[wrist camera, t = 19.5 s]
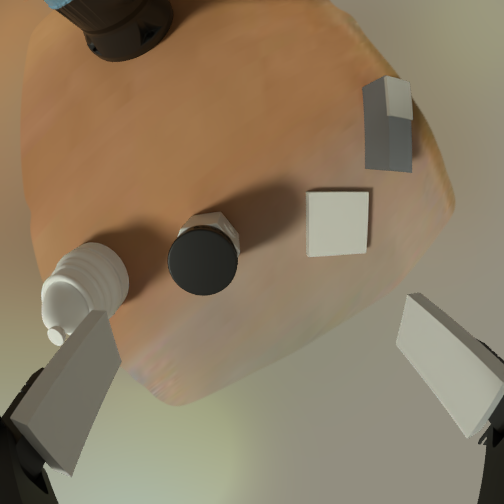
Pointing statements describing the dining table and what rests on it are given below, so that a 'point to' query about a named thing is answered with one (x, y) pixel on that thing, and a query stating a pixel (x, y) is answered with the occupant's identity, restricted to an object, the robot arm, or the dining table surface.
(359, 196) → the tile
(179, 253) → the jar
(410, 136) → the grey rectangular block
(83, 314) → the honey pot
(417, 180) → the dining table surface
